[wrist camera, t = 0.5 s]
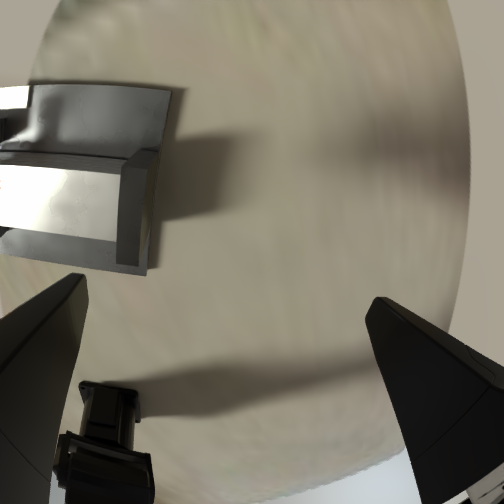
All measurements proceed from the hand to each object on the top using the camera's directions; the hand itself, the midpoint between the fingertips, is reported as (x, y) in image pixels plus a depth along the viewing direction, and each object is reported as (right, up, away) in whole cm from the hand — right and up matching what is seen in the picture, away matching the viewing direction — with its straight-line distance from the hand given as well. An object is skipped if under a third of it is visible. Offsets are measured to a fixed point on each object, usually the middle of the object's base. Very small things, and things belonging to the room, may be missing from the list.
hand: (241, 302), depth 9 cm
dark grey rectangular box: (-12, +7, +6) cm, 15 cm away
